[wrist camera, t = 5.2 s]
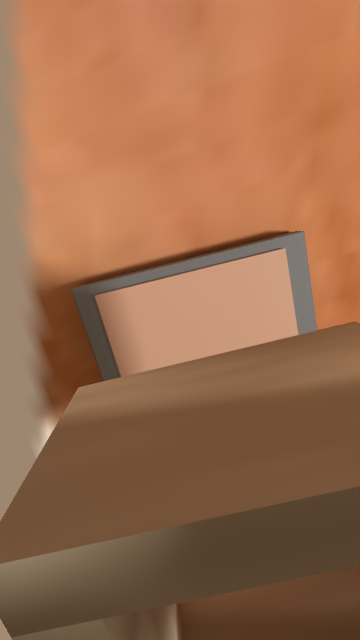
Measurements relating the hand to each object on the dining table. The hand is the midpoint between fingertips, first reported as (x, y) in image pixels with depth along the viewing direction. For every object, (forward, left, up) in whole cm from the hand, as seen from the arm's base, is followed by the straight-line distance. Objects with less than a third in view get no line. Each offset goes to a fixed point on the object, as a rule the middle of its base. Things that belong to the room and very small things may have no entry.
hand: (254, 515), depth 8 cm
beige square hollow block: (0, 0, -2) cm, 2 cm away
